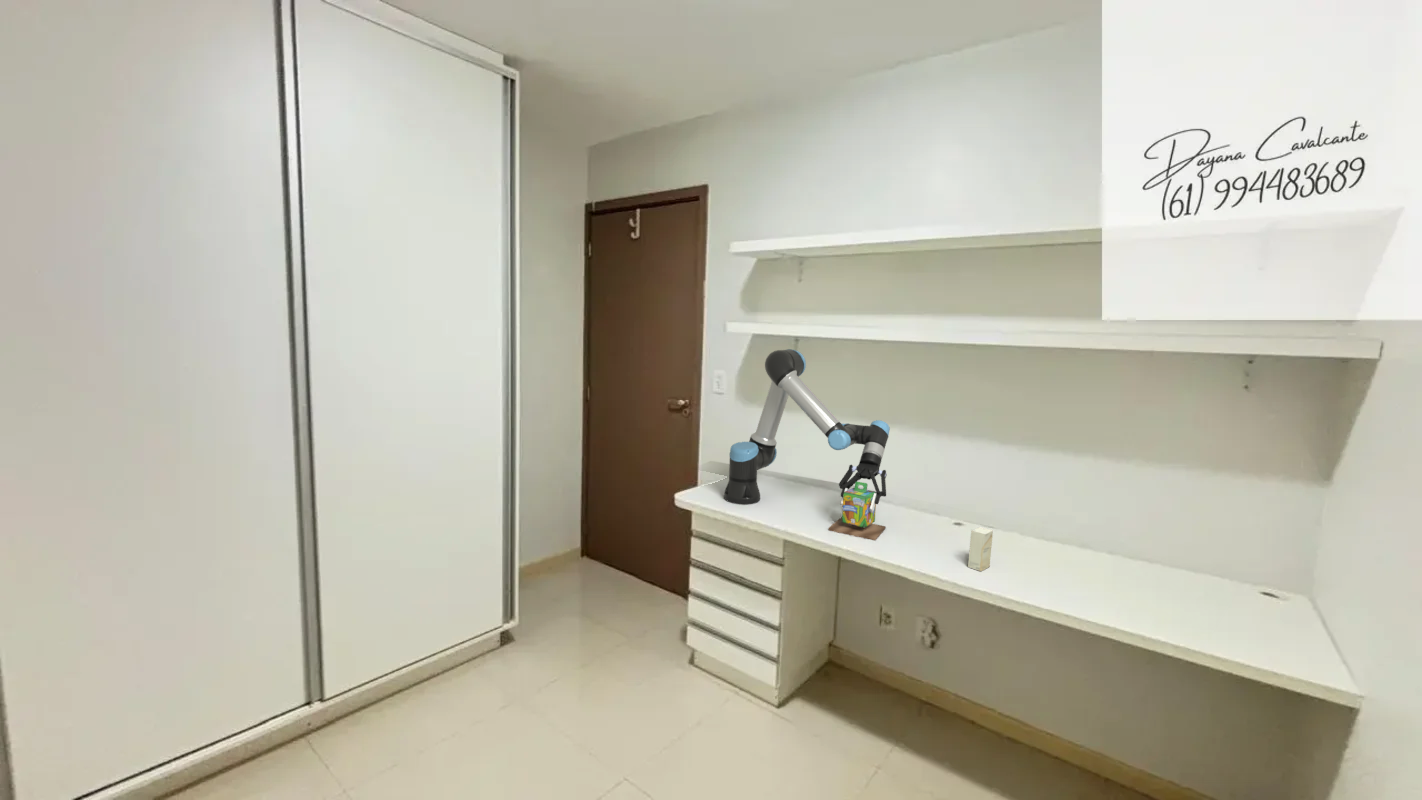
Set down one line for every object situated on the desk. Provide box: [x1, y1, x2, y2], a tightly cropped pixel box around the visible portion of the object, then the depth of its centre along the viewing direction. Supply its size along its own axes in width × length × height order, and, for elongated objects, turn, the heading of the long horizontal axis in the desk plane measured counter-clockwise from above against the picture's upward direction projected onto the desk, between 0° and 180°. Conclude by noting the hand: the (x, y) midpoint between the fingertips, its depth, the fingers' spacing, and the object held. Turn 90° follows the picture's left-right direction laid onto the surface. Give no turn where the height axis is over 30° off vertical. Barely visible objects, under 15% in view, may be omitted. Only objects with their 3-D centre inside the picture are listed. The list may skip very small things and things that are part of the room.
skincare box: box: [967, 526, 994, 572], centre depth 184 cm, size 6×4×12 cm
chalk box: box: [841, 481, 877, 528], centre depth 213 cm, size 9×9×15 cm
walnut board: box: [828, 516, 887, 541], centre depth 215 cm, size 17×14×1 cm
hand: (856, 508), depth 211 cm, fingers closed on chalk box, 10 cm apart
